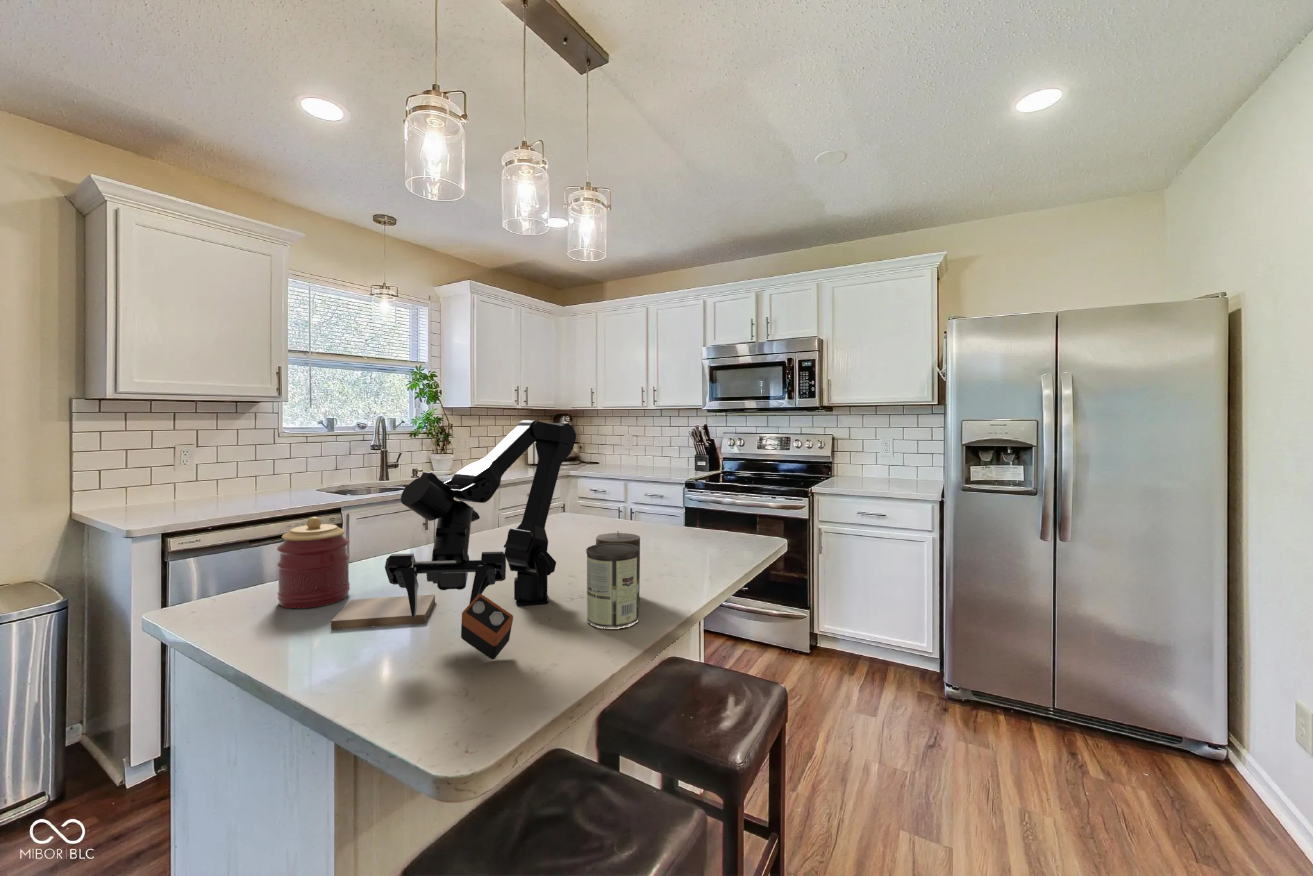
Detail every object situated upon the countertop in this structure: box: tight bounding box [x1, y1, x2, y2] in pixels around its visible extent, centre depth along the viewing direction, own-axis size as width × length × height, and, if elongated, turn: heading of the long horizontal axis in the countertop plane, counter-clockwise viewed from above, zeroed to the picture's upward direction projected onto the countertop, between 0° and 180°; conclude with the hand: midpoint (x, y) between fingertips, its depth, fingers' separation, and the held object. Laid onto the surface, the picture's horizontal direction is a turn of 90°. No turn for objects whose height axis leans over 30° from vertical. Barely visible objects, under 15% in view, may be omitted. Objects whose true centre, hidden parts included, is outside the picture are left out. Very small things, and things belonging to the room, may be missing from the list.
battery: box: [460, 593, 514, 660], centre depth 86 cm, size 4×7×10 cm
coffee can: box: [585, 543, 641, 628], centre depth 105 cm, size 10×10×14 cm
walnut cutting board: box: [330, 594, 436, 630], centre depth 107 cm, size 16×12×2 cm
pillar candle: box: [595, 530, 641, 590], centre depth 117 cm, size 10×10×15 cm
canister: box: [276, 516, 351, 609], centre depth 115 cm, size 13×13×18 cm
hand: (442, 615), depth 86 cm, fingers open, 8 cm apart
